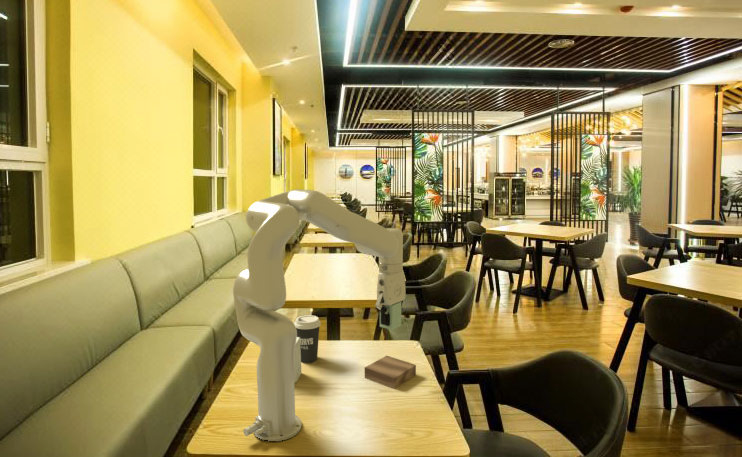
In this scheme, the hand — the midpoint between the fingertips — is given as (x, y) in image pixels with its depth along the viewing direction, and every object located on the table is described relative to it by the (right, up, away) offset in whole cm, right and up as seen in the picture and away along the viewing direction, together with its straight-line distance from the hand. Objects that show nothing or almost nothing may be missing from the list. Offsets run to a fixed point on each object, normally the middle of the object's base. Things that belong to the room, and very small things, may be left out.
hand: (390, 321), depth 154 cm
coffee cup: (-29, -17, +16) cm, 37 cm away
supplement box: (-33, -19, +2) cm, 38 cm away
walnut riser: (0, -19, +3) cm, 19 cm away
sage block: (0, -1, 0) cm, 1 cm away
